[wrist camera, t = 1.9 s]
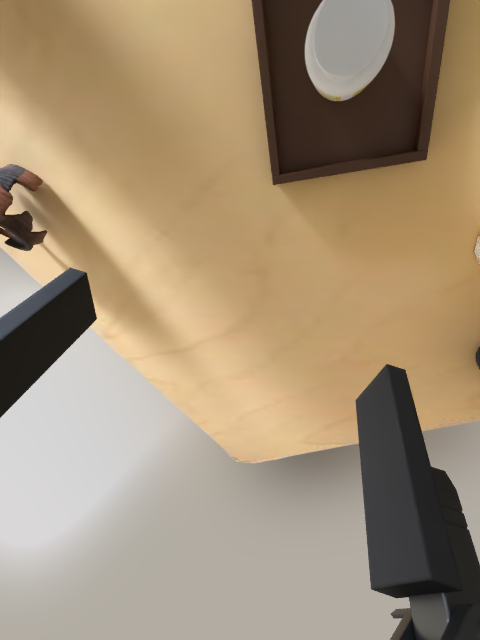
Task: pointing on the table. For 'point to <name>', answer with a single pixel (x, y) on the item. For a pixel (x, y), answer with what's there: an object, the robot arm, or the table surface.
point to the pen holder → (478, 357)
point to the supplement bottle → (348, 45)
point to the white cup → (477, 250)
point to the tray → (357, 112)
